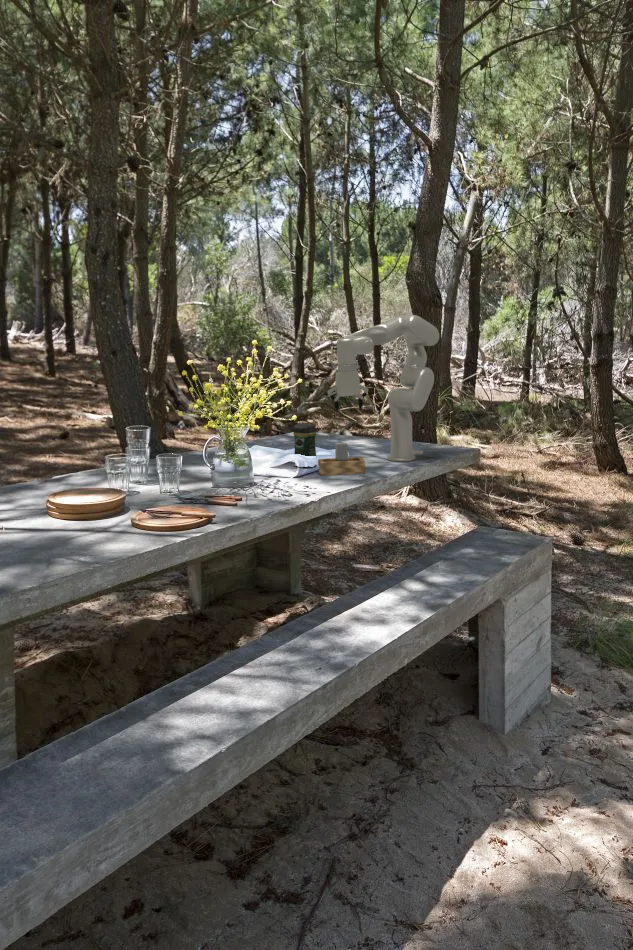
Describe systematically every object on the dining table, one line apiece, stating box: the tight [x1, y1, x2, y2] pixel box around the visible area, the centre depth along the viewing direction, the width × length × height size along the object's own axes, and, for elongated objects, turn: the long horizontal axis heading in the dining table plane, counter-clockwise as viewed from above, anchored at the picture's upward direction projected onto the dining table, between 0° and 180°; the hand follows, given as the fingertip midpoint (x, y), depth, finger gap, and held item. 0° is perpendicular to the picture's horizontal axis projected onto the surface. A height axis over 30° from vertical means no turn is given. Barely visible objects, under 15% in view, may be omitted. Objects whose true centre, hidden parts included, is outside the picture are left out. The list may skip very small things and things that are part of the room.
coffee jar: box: [292, 423, 317, 457], centre depth 348 cm, size 10×8×19 cm
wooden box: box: [317, 456, 366, 477], centre depth 334 cm, size 18×10×5 cm, turn 97°
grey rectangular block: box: [334, 442, 349, 462], centre depth 334 cm, size 4×4×11 cm
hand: (348, 409), depth 338 cm, fingers open, 9 cm apart
